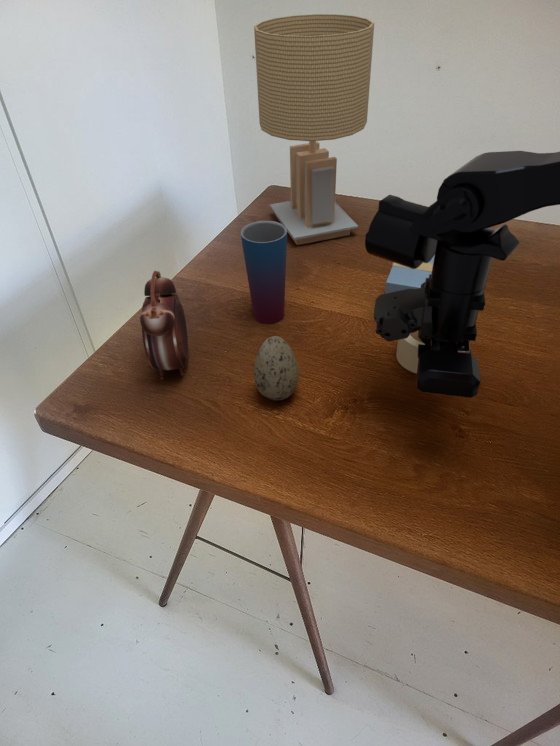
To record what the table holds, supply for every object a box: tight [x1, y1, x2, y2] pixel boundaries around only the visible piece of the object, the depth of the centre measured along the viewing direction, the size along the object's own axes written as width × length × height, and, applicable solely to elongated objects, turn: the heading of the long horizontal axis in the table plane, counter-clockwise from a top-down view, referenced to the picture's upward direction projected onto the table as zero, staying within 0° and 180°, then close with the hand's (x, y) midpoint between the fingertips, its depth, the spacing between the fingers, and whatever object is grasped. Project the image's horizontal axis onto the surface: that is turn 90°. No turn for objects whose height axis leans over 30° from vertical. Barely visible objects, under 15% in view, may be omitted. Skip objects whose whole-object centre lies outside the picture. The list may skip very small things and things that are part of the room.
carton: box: [384, 255, 435, 294], centre depth 82 cm, size 12×12×8 cm
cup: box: [240, 220, 288, 325], centre depth 81 cm, size 7×7×15 cm
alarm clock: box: [139, 270, 189, 381], centre depth 72 cm, size 11×5×15 cm, turn 5°
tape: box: [395, 331, 425, 375], centre depth 75 cm, size 8×8×5 cm
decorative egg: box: [253, 335, 300, 401], centre depth 68 cm, size 6×6×10 cm
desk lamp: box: [253, 13, 375, 246], centre depth 96 cm, size 20×20×35 cm
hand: (434, 384), depth 66 cm, fingers closed
